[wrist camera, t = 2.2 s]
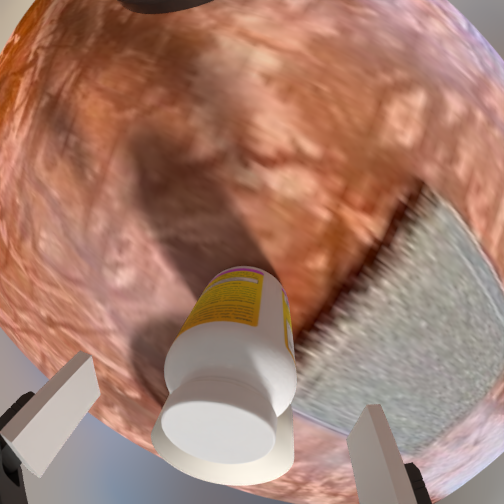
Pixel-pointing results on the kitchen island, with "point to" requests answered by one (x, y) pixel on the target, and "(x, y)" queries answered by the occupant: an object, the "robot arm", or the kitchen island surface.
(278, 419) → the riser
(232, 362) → the supplement bottle
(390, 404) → the kitchen island surface
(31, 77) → the kitchen island surface
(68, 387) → the robot arm
